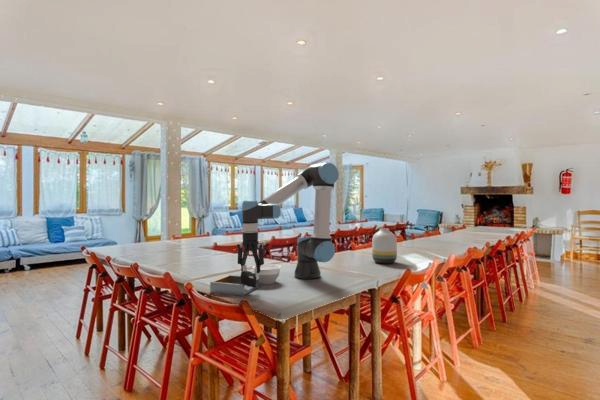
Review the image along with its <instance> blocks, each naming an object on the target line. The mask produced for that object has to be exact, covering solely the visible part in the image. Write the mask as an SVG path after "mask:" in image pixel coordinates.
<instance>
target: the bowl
mask: <svg viewBox="0 0 600 400" xmlns="http://www.w3.org/2000/svg"><path fill="white" fill-rule="evenodd" d="M255 266H256V264H255V265H253V266H252V267H251V268H252V269H253V273H254V274H255ZM280 269H282V265H280V264H276V263H275V264H272V263H264V264H263V265H261V266H260V273H259V277H260V285H269V284H270V285H271V284H274V283H276V281H277V279H278V277H279V275H280V272H281V270H280Z"/></svg>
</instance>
